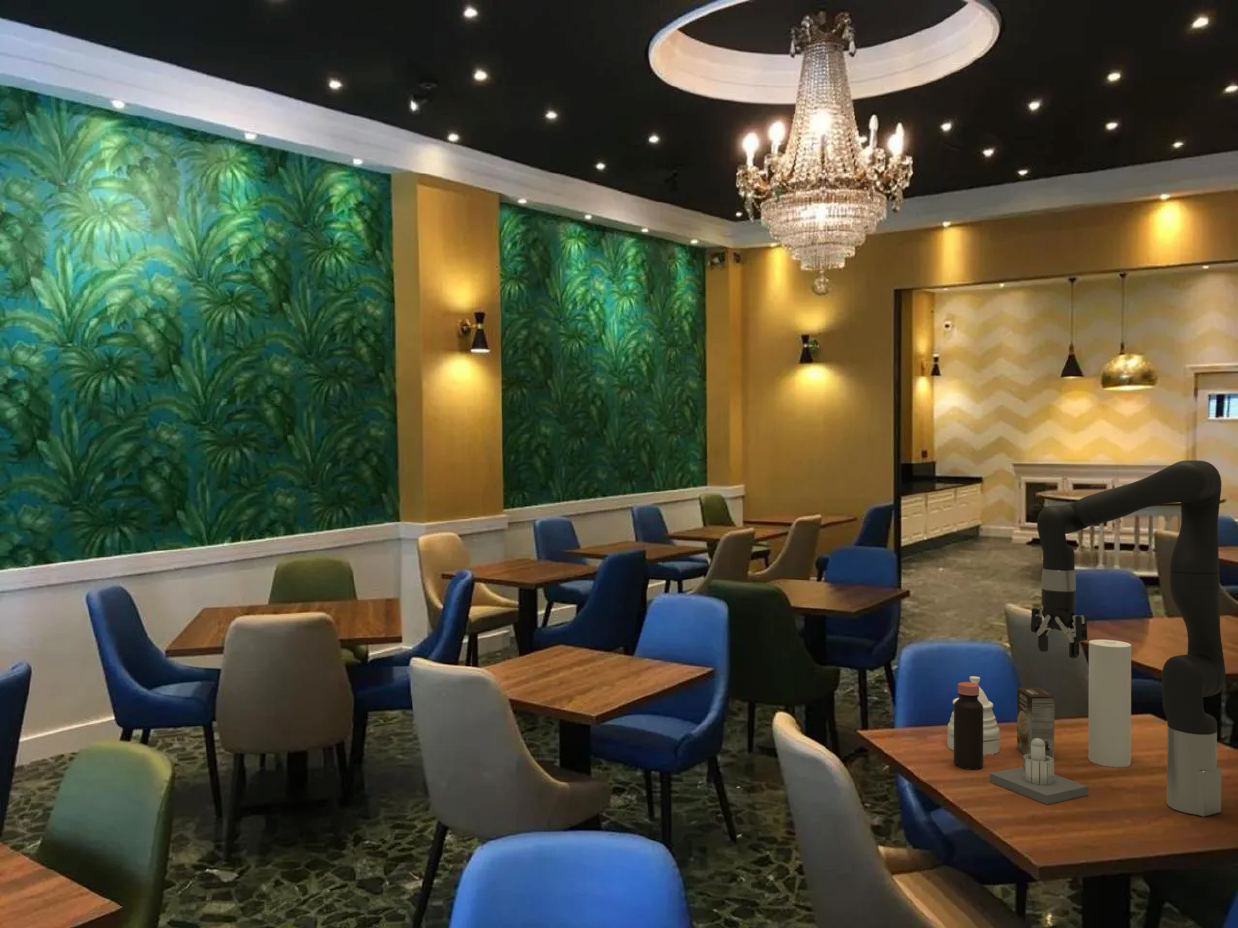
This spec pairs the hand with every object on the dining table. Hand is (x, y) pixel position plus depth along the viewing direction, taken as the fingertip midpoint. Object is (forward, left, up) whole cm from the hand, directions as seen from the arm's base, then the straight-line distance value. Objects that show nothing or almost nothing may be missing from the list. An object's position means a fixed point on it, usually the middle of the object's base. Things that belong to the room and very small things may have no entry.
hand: (1058, 654), depth 231 cm
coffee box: (+11, -5, -28) cm, 31 cm away
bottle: (+12, +17, -28) cm, 35 cm away
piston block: (-7, +15, -28) cm, 33 cm away
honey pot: (+22, +5, -28) cm, 36 cm away
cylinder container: (-1, -17, -28) cm, 33 cm away
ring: (-7, +15, -26) cm, 31 cm away
